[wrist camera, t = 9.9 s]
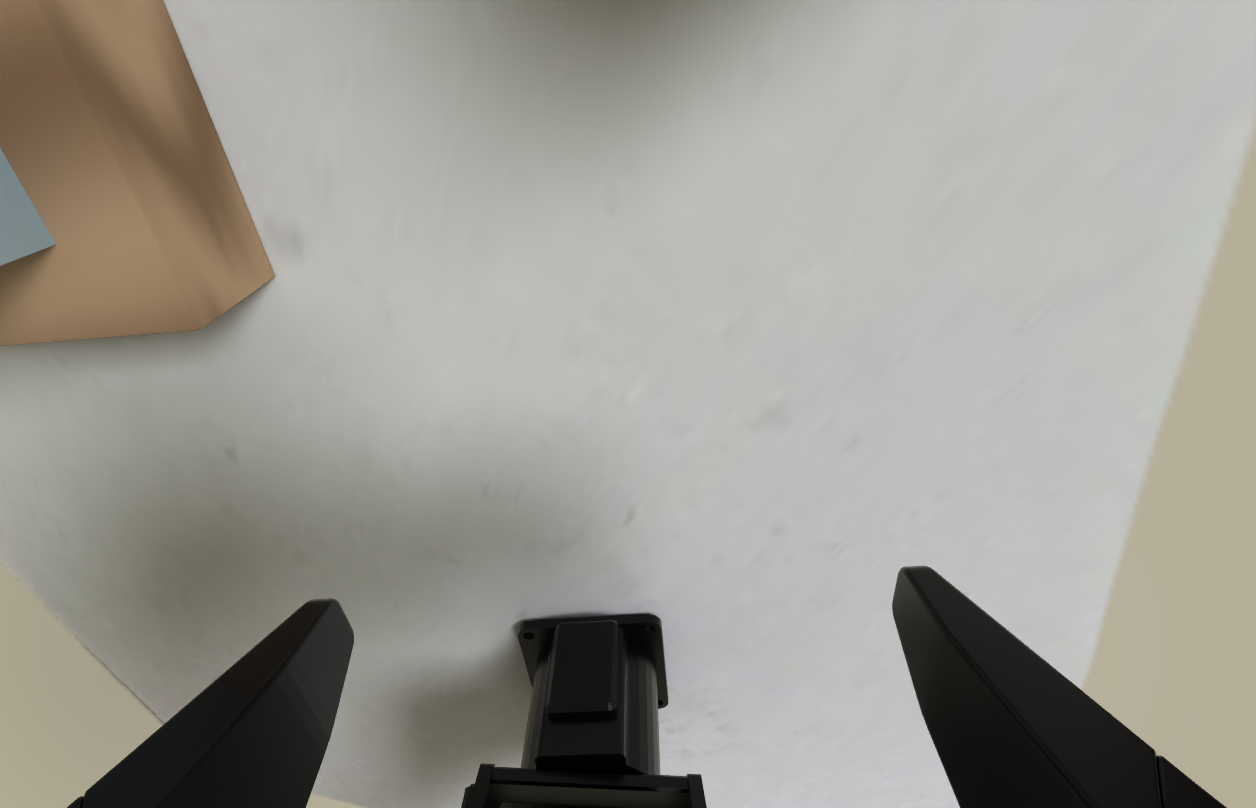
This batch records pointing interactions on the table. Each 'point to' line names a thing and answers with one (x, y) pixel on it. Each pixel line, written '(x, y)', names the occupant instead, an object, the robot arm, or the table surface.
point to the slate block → (18, 219)
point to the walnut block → (116, 177)
